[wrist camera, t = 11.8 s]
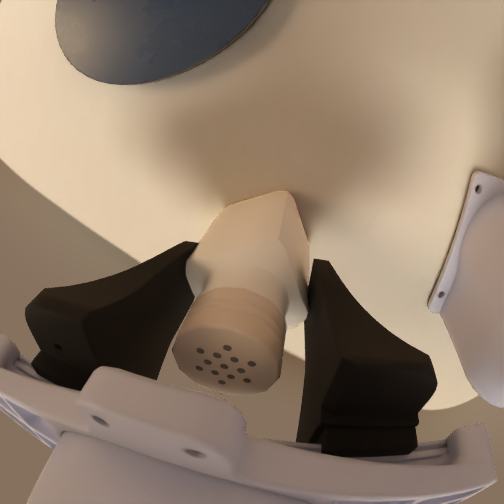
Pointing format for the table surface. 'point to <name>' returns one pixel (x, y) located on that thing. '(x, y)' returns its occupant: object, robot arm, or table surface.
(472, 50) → the table surface
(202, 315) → the salt shaker
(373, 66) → the table surface
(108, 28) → the lid
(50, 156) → the table surface
